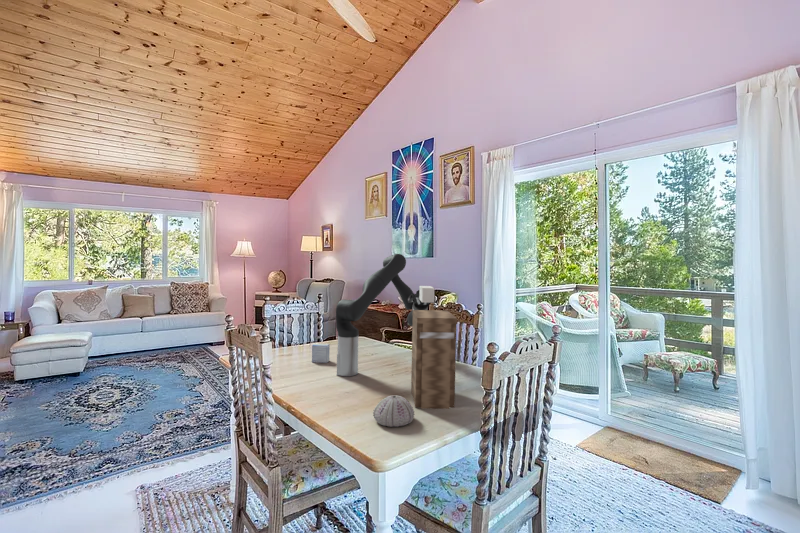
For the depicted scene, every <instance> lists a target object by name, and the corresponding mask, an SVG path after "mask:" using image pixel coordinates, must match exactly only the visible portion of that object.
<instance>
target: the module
mask: <svg viewBox="0 0 800 533" xmlns="http://www.w3.org/2000/svg"><path fill="white" fill-rule="evenodd" d="M418 290H419V299H420V301H421V302H424V303H429V304H431V303H433V304H435V303H434V296H435V287H433V286H432V285H419V289H418Z"/></svg>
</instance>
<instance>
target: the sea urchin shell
mask: <svg viewBox="0 0 800 533" xmlns="http://www.w3.org/2000/svg"><path fill="white" fill-rule="evenodd" d="M372 414H373V415H372V416H373V419H374V420H375V421H376V422H377V424H379V425H381V426H384V427H386V426H387V427H391V428H392V427H395V428H396V427H398V428H399V427H403V426H406V425H409V424H410V423H412V421H413V420H414V418H415V410H414V406H412V404H411V403H410V401H408V399H407V398H405V397H403V396H401V395H395V394H394V395H393V394H391V395H387V396H385V398H383V399H381V400H380V401H379V402H378V403H377V404H376V406H375V407H374V409H373V412H372Z"/></svg>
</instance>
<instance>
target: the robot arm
mask: <svg viewBox="0 0 800 533" xmlns="http://www.w3.org/2000/svg"><path fill="white" fill-rule="evenodd" d="M406 264H407V260H406V257H405V256H404V255H403V254H401V253H395V254H392V255H389V256H387V257H385V258H384V259H383V262H382V268H380V269H378V270H377V271H375V272H374V273H373V274H371V275H370V276H368V278H367V279H366V280H365V281H364V282H363V284H362V293H361V295H360V296H359V297H358V298H356V299H355V300H354V299H341V300H339V302H338V303H337V305H336V309H335V324H336V328H335V329H336V332H337V353H336V376H342V377H353V376H357V375H358V374H359V335H360V334H359V333H360V332H359V329H358V328H357V327H356V326H354V324H353V323H352V322H357V321H359V320H360V319H361V318H362V316H363V315H364V314H365V312H366V311H367V310H368V308H369V307H370V305H371V304H372V303H373V302H374V301H375V300H376V298H377V297H378V296H379V295H380V294H381V293H382V292H383V291H384V290H385V289H386V287H387V286H388V285H389V284H390V283H392V284H393V285H394V287H395V289H396V292H398V294H399V297H400V298H401V300H402V303H403V305H404V307H405V309H406V310H408V311H409V310H411V311H410V312H409V313H408V314H407V316H406V317H407V324H408V325H409V326H411V327H412V325H413V310H428V309H429V305H430V303H424V302H421V301H420V299H419V290H420V289H418V290H417V291H416V293H414V292H413V290H412V289H411V287H409V286H408V285H407V284H406V283H405V282H404V281H403V280H402V278H401V277H400V276H399V273H400V272H402V271H403V270H404V269H405V268H406ZM436 303H437V298H436V295H434V303H433V304H436Z"/></svg>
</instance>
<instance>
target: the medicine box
mask: <svg viewBox="0 0 800 533" xmlns="http://www.w3.org/2000/svg"><path fill="white" fill-rule="evenodd" d="M330 345H331V344H330V343H317V342H316V343H313V344H312V345H311V363H319V364H320V363H322V364H326V363H327V364H328V362H330Z"/></svg>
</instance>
